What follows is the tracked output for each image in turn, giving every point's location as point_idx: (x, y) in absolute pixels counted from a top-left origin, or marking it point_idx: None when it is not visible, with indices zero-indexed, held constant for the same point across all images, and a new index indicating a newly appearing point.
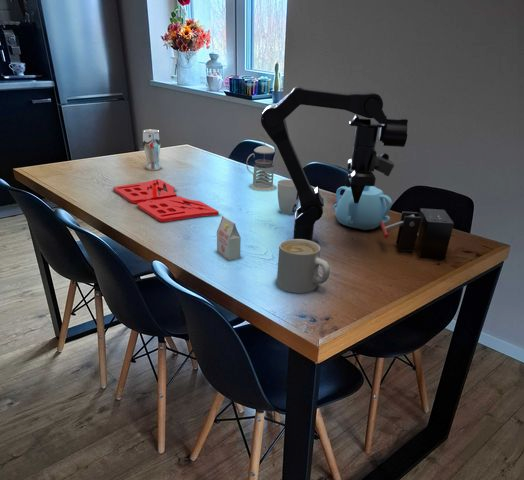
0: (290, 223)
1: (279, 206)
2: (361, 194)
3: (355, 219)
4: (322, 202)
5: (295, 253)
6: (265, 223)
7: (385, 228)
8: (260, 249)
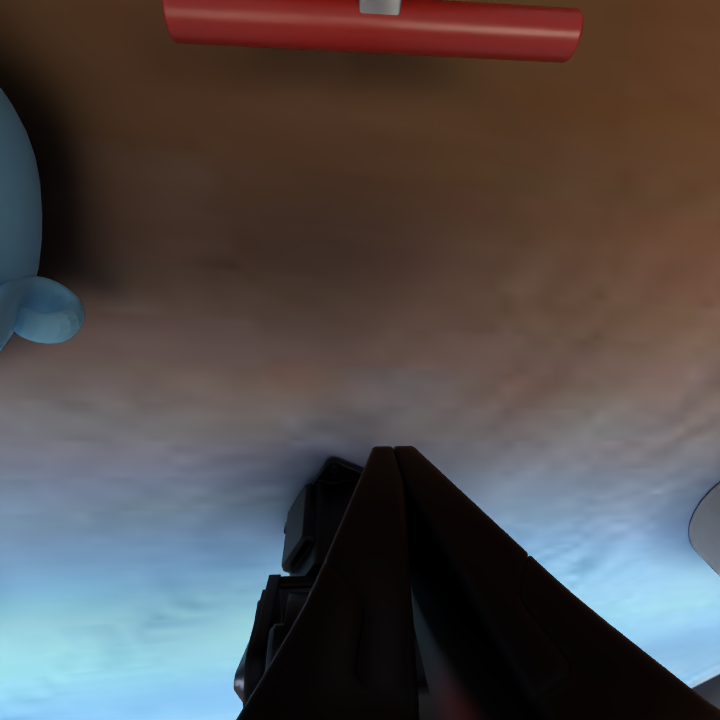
0: (92, 563)
1: None
2: (503, 532)
3: (18, 266)
4: (425, 710)
5: None
6: (142, 640)
7: (409, 11)
8: None
